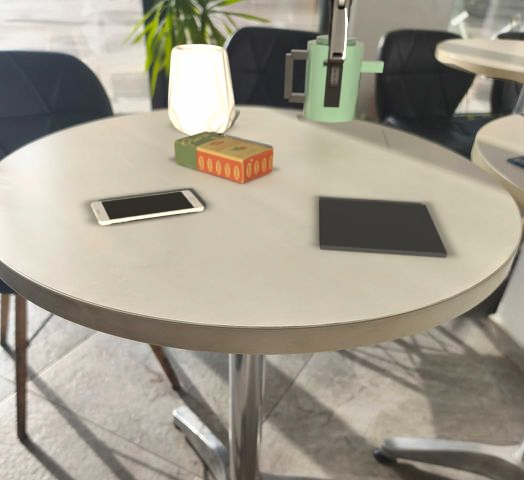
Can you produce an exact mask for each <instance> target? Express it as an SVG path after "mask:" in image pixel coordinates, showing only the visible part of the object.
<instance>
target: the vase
mask: <svg viewBox="0 0 524 480" xmlns="http://www.w3.org/2000/svg"><path fill="white" fill-rule="evenodd" d="M169 60H170V63H169V75H168V76H169V77H168V91H167V92H168V93H167V94H168V96H167V114H168V118H169V119H170V121H171V125H173V127H174V128H175V129H176V130H177V131H178V132H181V133H183V134H184V135H187V136H191V135H195V134H198V133H201V132H204V131H207V132H210V133H213V134H217V135H222V134H224V133H225V132H226V131H227V130H228V129H230V127H231V126H232V124H233V122H234V119H235V117H236V101H235V95H234V88H233V81H232V80H233V79H232V74H231V68H230V67H231V66H230V60H229V55H228V51H227V50H226V48H225V47H222V46H220V45H214V44H205V43H197V44H196V43H195V44H193V43H190V44H180V45H175V46H174V47H173V48H172V49H171V52H170V59H169Z"/></svg>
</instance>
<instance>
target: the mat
mask: <svg viewBox="0 0 524 480" xmlns="http://www.w3.org/2000/svg"><path fill="white" fill-rule="evenodd" d="M319 232H320V233H319V235H320V236H319V238H320V239H319V241H320V245H319V246H320V250H325V251H326V250H327V251H341V252H356V253H369V254H385V255H398V256H399V255H401V256H415V257H428V258H429V257H431V258H444V259H445V258H447V257H448V252H447V249H446V247H445V245H444V243H443V240H442V238H441V236H440V234H439V231H438V229H437V227H436V225H435V223H434V220H433V218H432V216H431V214H430V211H429V209H428V207H427V205H426V204H418V203H417V204H416V203H402V202H401V203H400V202H399V203H398V202H385V201H370V200H369V201H368V200H354V199H353V200H352V199H338V198H337V199H336V198H335V199H334V198H319Z"/></svg>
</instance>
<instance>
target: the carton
mask: <svg viewBox="0 0 524 480" xmlns="http://www.w3.org/2000/svg"><path fill="white" fill-rule="evenodd" d="M173 149H174V158H175V163H176V164H177V165H181V166H183V167H186V168H187V167H188V168H191V169H194V170H195V171H200V172H204V173H207V174H210V175H212V176H217V177H220V178H222V179H226V180H229V181H232V182H236V183H238V184H245V183H247V182H248V183H249V182H250V181H253V180H255V179H259V178H261V177H264V176H266V175H269V174H270V173H272V172H273V170H274V169H273V168H274V148H272V147H269V146H265V145H262V144H257V143H253V142H248V141H245V140H241V139H237V138H233V137H230V136H226V135H222V134H218V135H217V134H213V133H210V132H207V131H204V132H201V133H198V134H195V135H187V136H185V137H182V138H179V139H176V140H174V142H173Z"/></svg>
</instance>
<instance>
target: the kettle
mask: <svg viewBox="0 0 524 480" xmlns="http://www.w3.org/2000/svg"><path fill="white" fill-rule="evenodd" d="M330 36H331V35H328V34H322V35H317V36H316V39H311V40H307V45H306V46H307V47H306V49H291V50H290V52H289V53H286V54H285V63H284V65H285V66H284V67H285V68H284V87H283V88H284V89H283V90H284V93H283V99H284V100H285V99H287V100H288V103H300V104H303V109H302V116H303V118H305V119H307V120H309V121H312V122H318V123H328V124H330V123H331V124H341V123H349V122H352V121H354V120H355V119H356V117H357V111H358V102H359V96H360V95H359V93H360V85H361V78H362V73H371V74H372V73H373V74H374V73H375V74H383V72H384V67H385V66H384V65H385V62H384V61H383V60H364V54H365V53H364V52H365V46H366V45H365V42H363V41H359V40H357V39H358V38H357V37H356V36H351V35H346V46H345V61H344V64H343V74H342V84H341V94H340V103H339V108H338V107H324V98H325V86H326V75H327V65H324V60H328V59H329V50H330ZM295 60H306V63H305V76H304V77H305V78H304V92H293V88H294V87H293V86H294V64H295Z"/></svg>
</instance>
